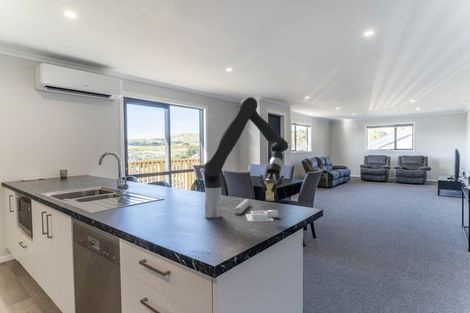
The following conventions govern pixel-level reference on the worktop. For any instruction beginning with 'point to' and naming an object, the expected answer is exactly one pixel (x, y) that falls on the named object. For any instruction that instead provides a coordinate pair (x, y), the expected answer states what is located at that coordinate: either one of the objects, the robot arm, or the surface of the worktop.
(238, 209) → the tube
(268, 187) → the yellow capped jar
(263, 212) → the socket
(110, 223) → the worktop surface
